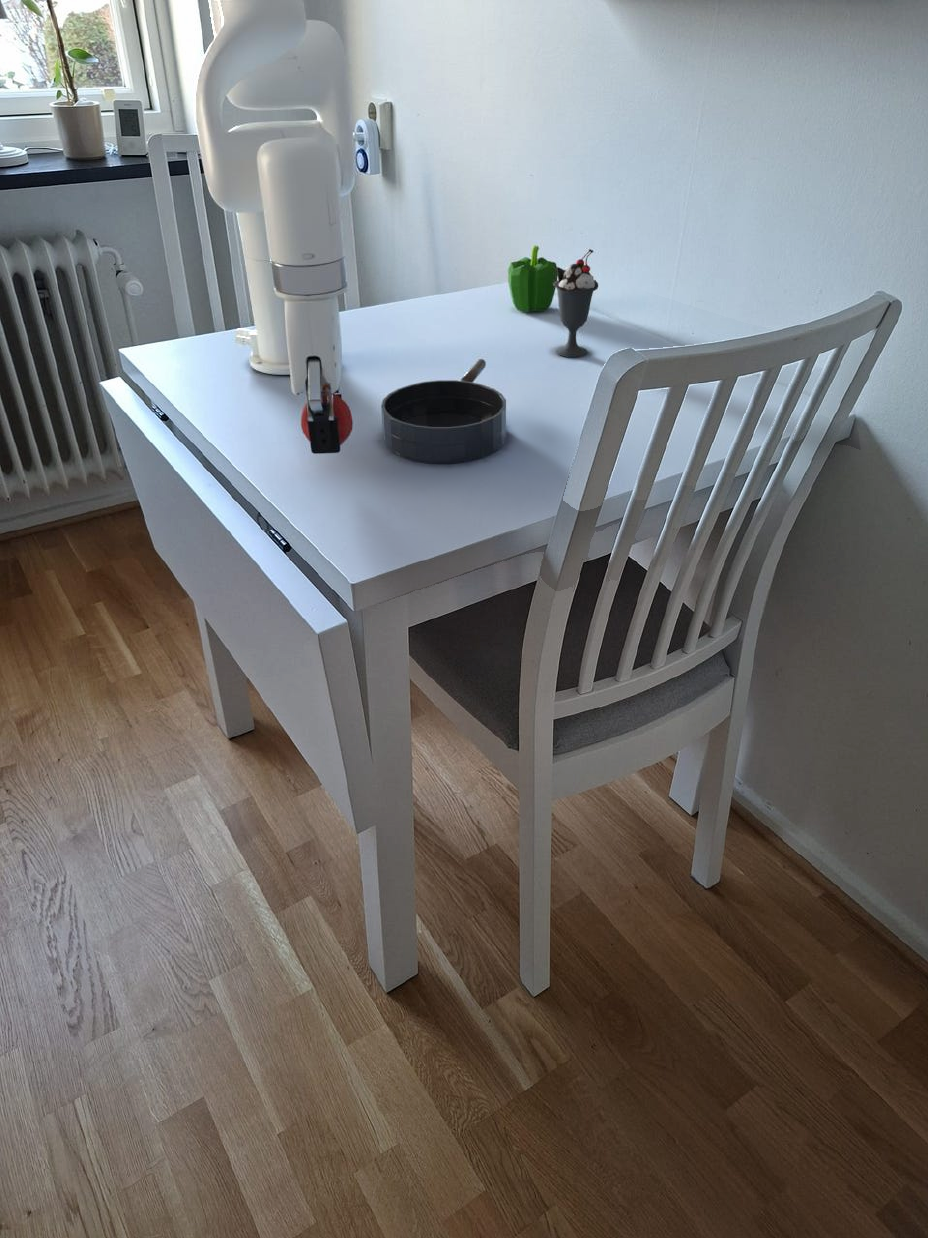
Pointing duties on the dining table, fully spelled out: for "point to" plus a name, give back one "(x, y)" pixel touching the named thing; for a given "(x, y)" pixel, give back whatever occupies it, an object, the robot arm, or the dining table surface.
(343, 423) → the onion
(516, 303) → the bell pepper
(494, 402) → the pan
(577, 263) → the sundae
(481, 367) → the pan handle
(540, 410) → the dining table surface
